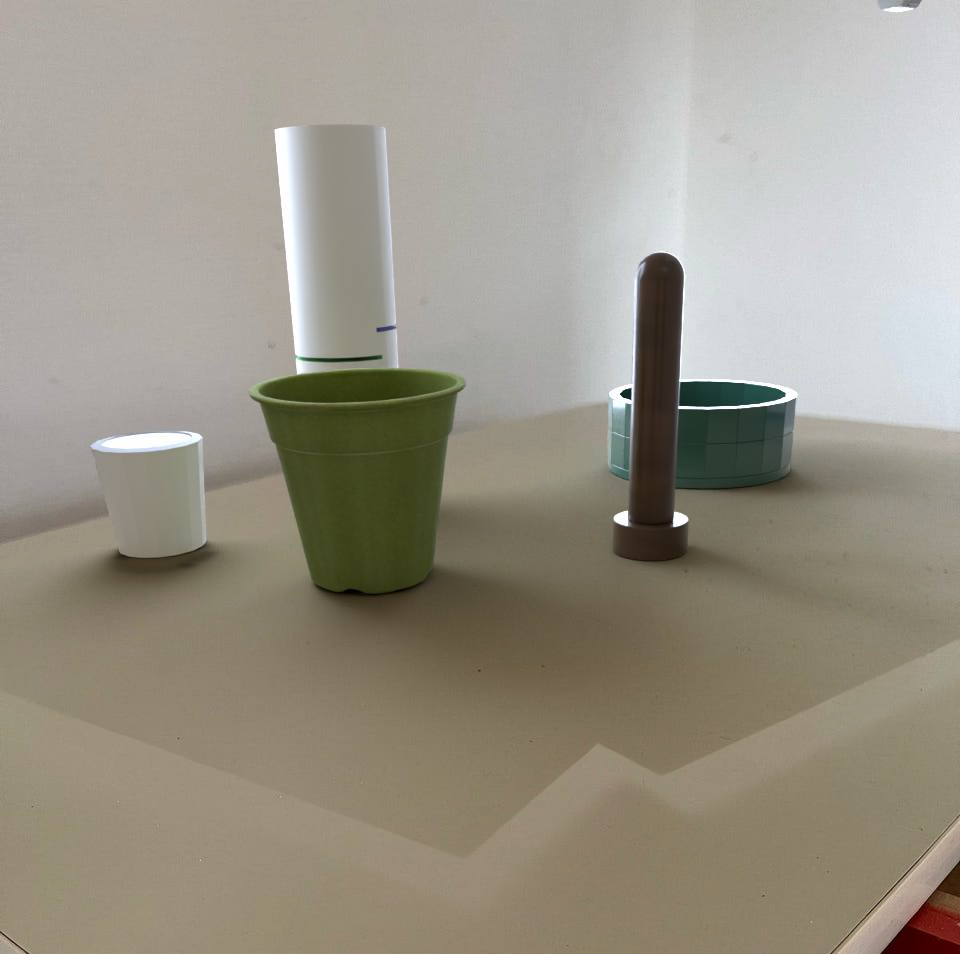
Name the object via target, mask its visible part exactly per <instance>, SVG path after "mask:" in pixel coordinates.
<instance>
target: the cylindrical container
mask: <svg viewBox="0 0 960 954" xmlns="http://www.w3.org/2000/svg"><path fill="white" fill-rule="evenodd" d="M386 130H387V129H386V127H384V126H380V125H372V124H348V123H347V124H335V123H334V124H308V125H294V126H293V125H292V126H286V127H280V128H276V129H274V137H275V148H276V158H277V170H278V179H279V180H278V181H279V191H280V201H281V202H280V203H281V214H282V225H283V234H284V235H283V236H284V245H285V246H284V247H285V255H286V256H285V257H286V266H287V267H286V268H287V277H288V278H287V279H288V289H289V290H288V291H289V298H290V310H291V323H292V332H293V343H294V353H295V356H296V357H295V365H296V374H300V373H310V372H319V371H328V370H341V369H359V368H400V365H399V348H398V347H399V345H398V329H397V327H396V326H394V325H397V312H396V311H397V310H396V296H395V295H396V294H395V276H394V275H395V274H394V255H393V239H392V222H391V221H392V220H391V203H390V202H391V201H390V188H389V187H390V185H389V168H388V166H389V165H388V148H387V131H386Z"/></svg>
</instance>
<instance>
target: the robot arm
mask: <svg viewBox="0 0 960 954" xmlns="http://www.w3.org/2000/svg"><path fill="white" fill-rule="evenodd" d="M922 1H923V0H876V5H877V8H878V9H880V10H881V11H887V12H895V13H898V12H904V11H910V10H915V9H916V8H918V7H919V6H920V4H921V2H922Z"/></svg>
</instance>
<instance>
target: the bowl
mask: <svg viewBox="0 0 960 954" xmlns="http://www.w3.org/2000/svg"><path fill="white" fill-rule="evenodd" d="M631 389H632V384H628V385H627V384H626V385H624V386H620V387H617V388H613V390H611V391H610V392H609V393H608V397H607V398H608V401H607V447H606V449H607V453H606V454H607V467H608V470H609V471H610V473H611V474H613V475H614V476H617V477H619V478H622V479H624V480H627V481H629V460H630V424H631ZM797 397H798V393H797V392H796V391H794V390H793V389H791V388H789V387H784V386H781V385H775V384H771V383H766V382H765V383H764V382H755V381H747V380H731V379H680V395H679V417H678V439H677V460H676V482H675V489H676V488H677V489H696V490H698V489H700V490H701V489H702V490H706V489H707V490H708V489H709V490H711V489H712V490H713V489H714V490H715V489H733V488H734V489H735V488H744V487H752V486H758V485H763V484H768V483H772V482H775V481H779V480H781V479H782V478H783V479H784V478H785V477H786V476H788V474H789V473H790V472H791V465H792V464H791V463H792V455H793V454H792V453H793V443H794V442H793V441H794V431H795V418H796V409H797Z"/></svg>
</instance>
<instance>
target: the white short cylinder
mask: <svg viewBox="0 0 960 954" xmlns="http://www.w3.org/2000/svg"><path fill="white" fill-rule="evenodd" d="M203 439H204V438H203V436H202V435H200V434H199V433H196V432H191V431H183V430H182V431H181V430H148V431H147V430H146V431H139V432H130V433H125V434H118V435H114V436H110V437H105V438H102V439H99V440H96V441H95V442H93V443H92V444H90V449H91V453H92V456H93V461H94V464H95V468H96V472H97V476H98V478H99V482H100V486H101V490H102V494H103V497H104V501H105V504H106V509H107V512H108V517H109V521H110V523H111V528H112V531H113V534H114V538H115V543H116V545H117V550H118V552H119V554H121V555H124V556H126V557H130V558H140V559H152V558H165V557H172V556H179V555H183V554H186V553H189V552H193V551H195V550H197V549H199V548H201V547H203V546H204V545H205V544H206V543H207V522H206V497H205V495H206V493H205V472H204V470H205V468H204V466H205V465H204V443H203V441H204V440H203Z"/></svg>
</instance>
